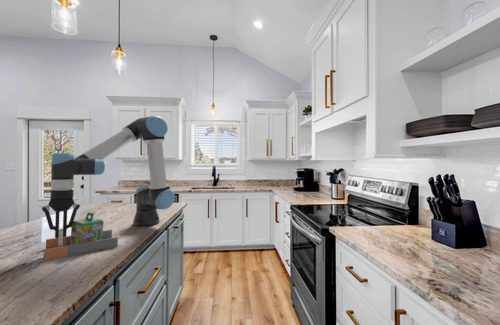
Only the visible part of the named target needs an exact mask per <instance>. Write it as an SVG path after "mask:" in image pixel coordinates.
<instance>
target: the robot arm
mask: <svg viewBox="0 0 500 325" xmlns="http://www.w3.org/2000/svg"><path fill="white" fill-rule="evenodd" d="M168 128H169V127H168V124H167V122H166V121H165V119H163V117H161V116H159V115H158V116H157V115H152V116H151V115H150V116H146V117H145V116H144V117H140V118H138V119H136V120H134V121H132V122H131V123H129V124H126V126H123V128H122V130H121V131H120V132H118V133H116V134H114V135H112V136H111V137H109V138H107V139H106V140H104V141H102V142H101V143H99V144H97V145H95V146H93V147H92V148H90V149H88V150H87V151H85V152H84V153H82V154H80V155H78V156H76V157H75V154H74V153H68V152H67V153H66V152H65V153H63V152H54V153H52V156H51V163H50V165H51V167H50V168H51V169H50V170H51V171H50V172H51V175H50V176H51V179H50V189H51V191H50V199H49V202H48V204H47V205H45V206H42V207H41V210H42V211H43V213H44V214H45V218H46V221H47V224H48V228H49V230H53V231H54V238H59V239H58V246H63V237H66V236H67V230H68V229H71V227H72V224H73V221H75V218H76V215H77V211H78V210H79V209H80V207H81V205H80V204H78V203H76V202H75V200H74V189H73V188H74V183H75V182H74V177H75V176H88V175H89V176H97V175H103V173H104V171H105V168H106V165H105V161H104V160H105V159H107V158H108V157H109V156H111V155H113V154H114V153H116V152H117V151H119V150H120V149H121V148H123V147H126V146H127V145H128V144H130V143H131V142H132V143H134V142H136V141H138V140H141V139H142V141H143V142H144V143H145V145H146V151H147V152H146V153H147V161H148V171H149V179H150V180H149V181H150V185H149V186H148V185H146V186H140V187H137V189H136V192H135V195H136V199H135V200H136V203H135V204H136V205H135V206H136V210H135V214H134V218H133V219H132V225H133V226H135V227H147V226H148V227H149V226H154V225H157V224H159V223H160V216H159V214H158V210H167V209H169V208H171V207H172V205H173V204H174V202H175V199H176V198H175V197H176V196H175V193H174V192H173V190H171V188H170V184H169V183H168V182H167V176H166V165H165V156H164V148H163V142H164V141H165V136H166V134H167V132H168ZM71 207H72V208H73V210H72V213H71V215H70V217H69V221H68V220H67V219H68V211H69V210H70V209H71ZM50 208H51V209H52V210H53V211H54V212H55V225H54V223H53V220H52V216H51V213H50ZM60 212H63V217H62V219H63V220H62V228H60Z"/></svg>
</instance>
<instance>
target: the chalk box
mask: <svg viewBox="0 0 500 325" xmlns="http://www.w3.org/2000/svg"><path fill="white" fill-rule="evenodd" d="M94 215H95V214H94V213H93V212H87V213H86V217H85V218H83V219H77V220H74V221H73V224H72V227H70V236H71V240H70V245H73V244H79V243H85V242H91V241H97V240H102V236H103V231H104V220H102V219H98V218H96V217H94ZM89 216H90V218H89Z"/></svg>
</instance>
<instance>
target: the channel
mask: <svg viewBox="0 0 500 325" xmlns="http://www.w3.org/2000/svg"><path fill="white" fill-rule="evenodd" d="M58 239H59V238H55V237H54V238H46V239H45V249H44V250H43V251H44V254H43V256H44V257H43V260H44V261H47V260H53V259H54V260H55V259H58V258H64V257H68V256H73V255H79V254H84V253H90V252H95V251H99V250H100V251H101V250H105V249H110V248H116V247H118V246H119V245H118V244H119V243H118V242H119V241H118V239H119V237H118V236H117V237H116V236H115V237H113V230H112V229H107V230H103V236H102V240H97V241H91V242H85V243H79V244H73V245H70V240H71V235H68V236H67V235H66V237H63V246H58Z"/></svg>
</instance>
